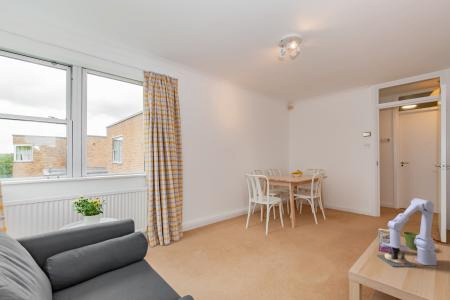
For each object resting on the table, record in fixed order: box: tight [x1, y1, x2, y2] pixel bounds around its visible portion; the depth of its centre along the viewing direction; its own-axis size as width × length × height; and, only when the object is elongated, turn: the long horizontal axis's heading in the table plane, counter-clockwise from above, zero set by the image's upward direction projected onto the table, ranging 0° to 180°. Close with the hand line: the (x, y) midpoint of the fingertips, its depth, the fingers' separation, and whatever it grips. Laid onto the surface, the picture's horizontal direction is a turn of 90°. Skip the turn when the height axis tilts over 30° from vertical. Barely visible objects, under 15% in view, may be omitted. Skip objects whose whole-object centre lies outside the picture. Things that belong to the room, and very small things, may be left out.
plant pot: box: [402, 230, 420, 251], centre depth 168 cm, size 12×12×11 cm
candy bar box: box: [377, 227, 394, 253], centre depth 163 cm, size 11×5×16 cm, turn 58°
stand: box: [376, 254, 416, 268], centre depth 149 cm, size 15×15×1 cm
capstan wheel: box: [384, 248, 407, 264], centre depth 149 cm, size 12×12×6 cm
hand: (395, 258), depth 145 cm, fingers closed, pressing on capstan wheel
